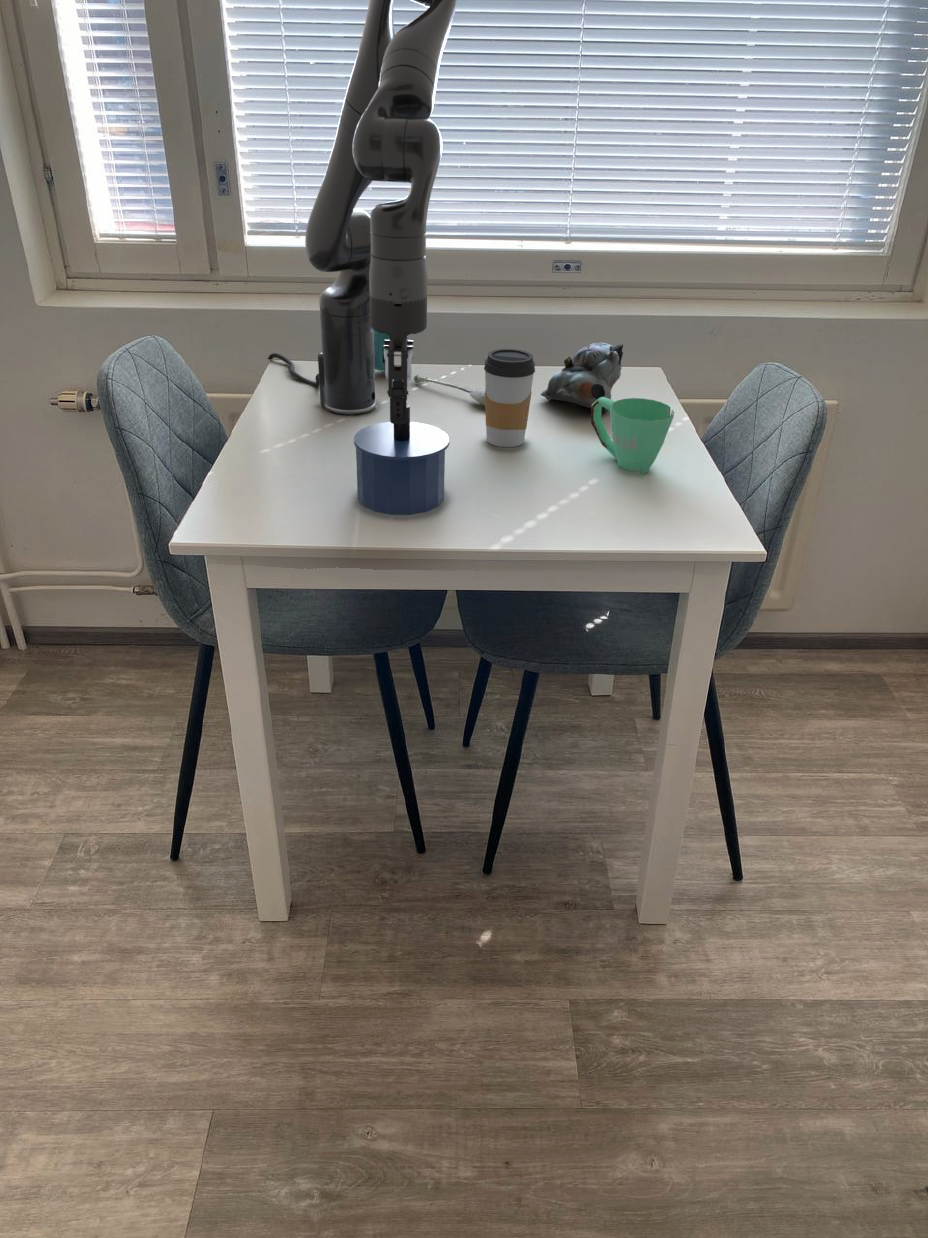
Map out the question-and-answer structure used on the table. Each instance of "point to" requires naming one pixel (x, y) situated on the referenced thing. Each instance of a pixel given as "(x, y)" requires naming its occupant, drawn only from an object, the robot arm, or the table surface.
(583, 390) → the lucky cat figurine
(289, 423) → the table surface
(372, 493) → the tin
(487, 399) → the coffee cup
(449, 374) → the table surface
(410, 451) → the tin lid
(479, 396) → the soupspoon
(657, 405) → the mug
